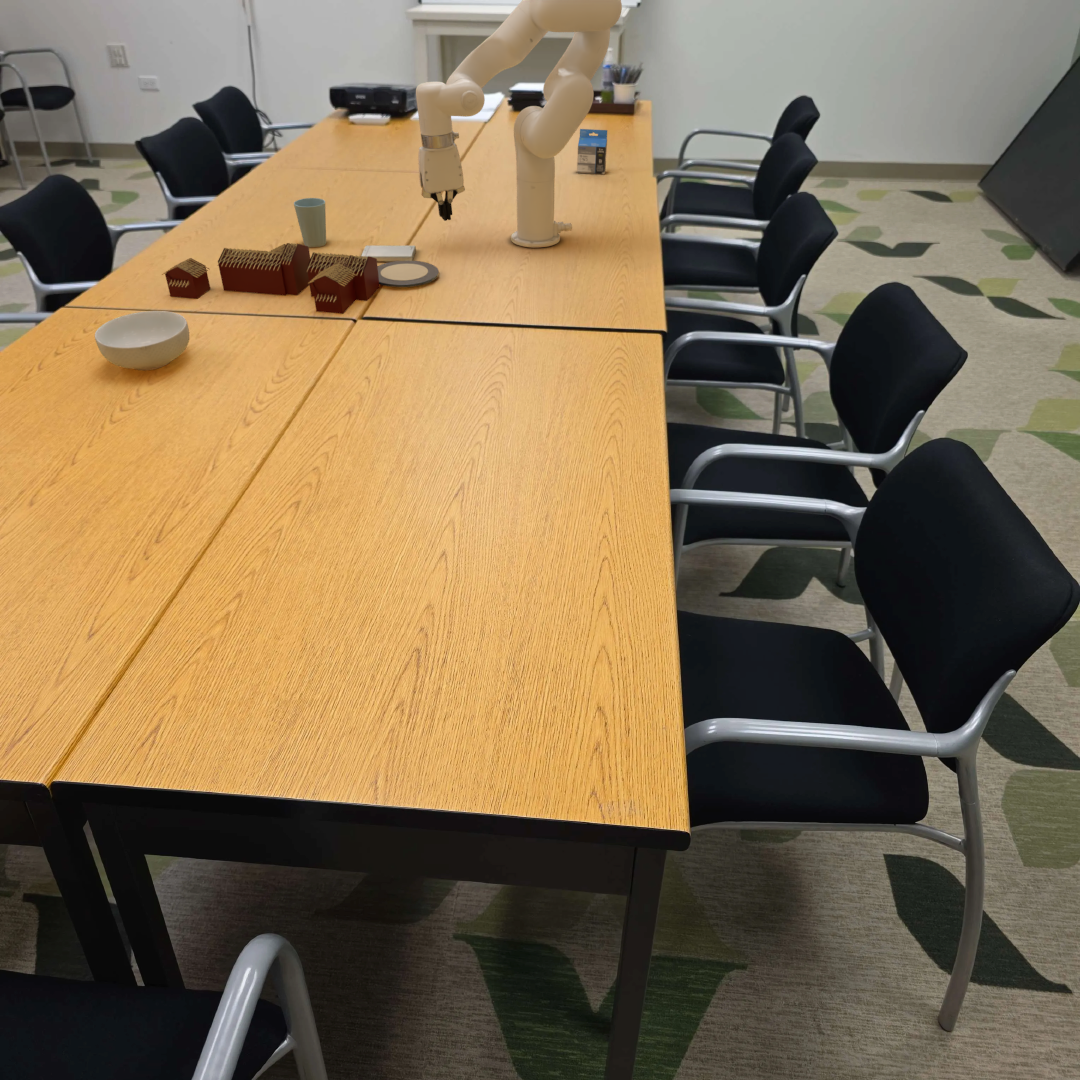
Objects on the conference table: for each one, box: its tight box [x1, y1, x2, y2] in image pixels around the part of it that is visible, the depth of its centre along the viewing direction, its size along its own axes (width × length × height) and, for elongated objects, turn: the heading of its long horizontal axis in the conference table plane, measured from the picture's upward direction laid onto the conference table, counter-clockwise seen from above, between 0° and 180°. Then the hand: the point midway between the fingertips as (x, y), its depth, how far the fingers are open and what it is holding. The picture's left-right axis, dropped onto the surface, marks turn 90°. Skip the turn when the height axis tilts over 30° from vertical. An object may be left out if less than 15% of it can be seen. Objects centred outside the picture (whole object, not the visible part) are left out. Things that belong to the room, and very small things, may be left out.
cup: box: [293, 197, 327, 248], centre depth 230 cm, size 8×8×10 cm
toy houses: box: [161, 242, 381, 315], centre depth 204 cm, size 45×20×10 cm, turn 79°
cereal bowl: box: [94, 310, 190, 371], centre depth 175 cm, size 17×17×7 cm
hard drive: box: [360, 244, 417, 262], centre depth 226 cm, size 2×8×12 cm
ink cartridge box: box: [576, 128, 608, 175], centre depth 286 cm, size 9×4×12 cm, turn 80°
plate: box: [377, 260, 440, 288], centre depth 214 cm, size 16×16×1 cm
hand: (446, 218), depth 227 cm, fingers closed
